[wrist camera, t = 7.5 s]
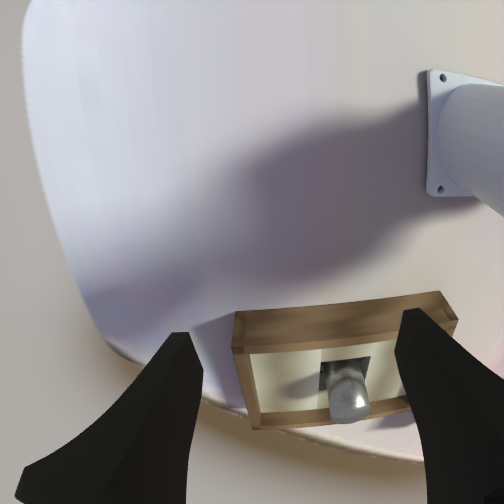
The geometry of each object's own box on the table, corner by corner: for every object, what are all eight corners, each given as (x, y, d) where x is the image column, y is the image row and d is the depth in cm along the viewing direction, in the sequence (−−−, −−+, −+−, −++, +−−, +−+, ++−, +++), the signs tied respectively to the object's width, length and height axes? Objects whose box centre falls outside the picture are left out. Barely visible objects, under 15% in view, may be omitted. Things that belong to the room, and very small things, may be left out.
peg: (343, 338, 23) (357, 399, 18) (362, 353, 24) (378, 411, 19) (315, 356, 24) (322, 417, 19) (335, 370, 25) (345, 427, 20)
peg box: (439, 290, 20) (458, 319, 17) (408, 382, 26) (417, 408, 23) (235, 311, 22) (231, 346, 19) (254, 400, 28) (252, 429, 25)
